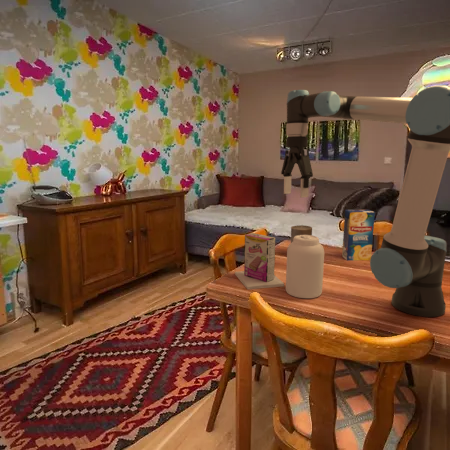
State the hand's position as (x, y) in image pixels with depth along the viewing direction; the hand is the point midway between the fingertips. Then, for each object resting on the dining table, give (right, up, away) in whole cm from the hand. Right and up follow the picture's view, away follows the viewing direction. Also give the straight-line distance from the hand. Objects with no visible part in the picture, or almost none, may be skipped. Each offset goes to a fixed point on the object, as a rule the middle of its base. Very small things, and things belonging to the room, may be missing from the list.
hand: (295, 195), depth 136 cm
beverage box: (+34, -26, +33) cm, 55 cm away
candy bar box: (-13, -31, +4) cm, 34 cm away
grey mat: (-13, -32, +5) cm, 35 cm away
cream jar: (+1, -35, -7) cm, 35 cm away
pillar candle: (+9, -26, +37) cm, 46 cm away
